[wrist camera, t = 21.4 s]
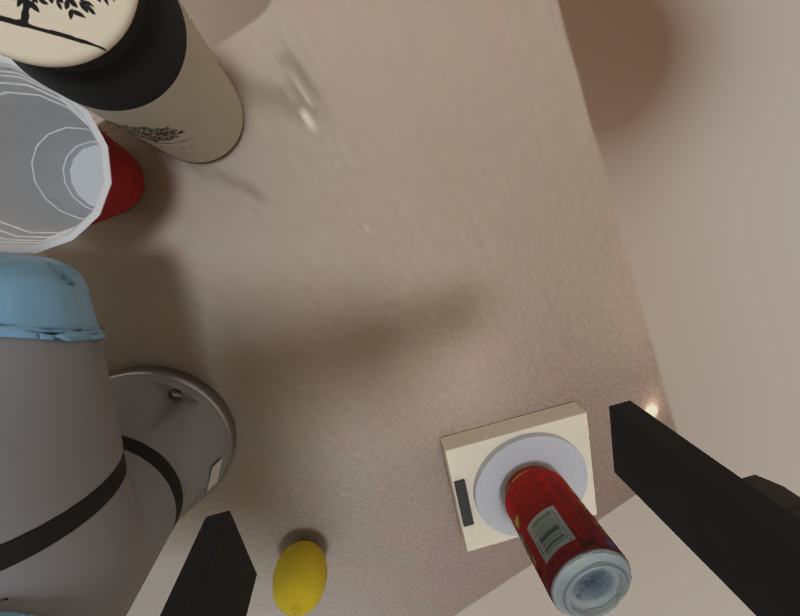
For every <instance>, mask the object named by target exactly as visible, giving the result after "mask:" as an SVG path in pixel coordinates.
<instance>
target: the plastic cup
mask: <svg viewBox="0 0 800 616" xmlns="http://www.w3.org/2000/svg"><path fill="white" fill-rule="evenodd" d="M143 190H144V179H143V173H142V171H141V169H140V167H139V165H138V164H137V162H136V160H135V159H134V158H133V157H132V156H131V155H130V154H129V153H128V152H127V151H126V150H125V149H124V148H122V147H121V146H120V145H118V144H117V143H115V142H114V141H113V140H112V139H111V138H110V137H109V136H108V135H106V134H105V133H104V132H103V131H101V130H100V129H99V128H98V127H97V125H96V123H95V121H94V120H93V118H92V116H91V114H90V112H89V110H87V109H86V108H84V107H82V106H80V105H78V104H77V103H75V102H73V101H71V100H69V99H68V98H66V97H64V96H62V95H60V94H59V93H57V92H55V91H53V90H51V89H49V88H48V87H46V86H44V85H42V84H41V83H39V82H37V81H36V80H34V79H33V78H32V77H30V76H29V75H28V74H26V73H25V72H24V71H23V70H22V69H21V68H20V67H19V66H17V65H16V63H15V62H14V61H13V60H12V59H10V58H8V57H6V56H2V55H0V253H38V252H41V251H44V250H47V249H50V248H52V247H55V246H58V245H61V244H64V243H67V242H69V241H72V240H74V239H76V238H77V237H78V236H79V235H80V234H81V233H82V232H83V231H84V230H85V229H86V228H87V227H88V226H89V225H92V224H95V223H98V222H101V221H103V220H106V219H109V218H112V217H114V216H117V215H118V214H121V213H123V212H126V211H129V210H130V209H131V208H132V207H133V206H134V205H135V204H136V203H137V202H138V201H139V200H140V199H141V196H142V193H143Z"/></svg>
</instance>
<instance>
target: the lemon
mask: <svg viewBox="0 0 800 616" xmlns="http://www.w3.org/2000/svg"><path fill="white" fill-rule="evenodd" d="M326 579H327V563H326V558H325V556H324V554H323V551H322V550H321V549H320V548H319V546H317V545H316V544H315V543H312V542H310V541H299V542H296V543H294V544H292V545H290V546H289V547H288V548H287V549H286V550H285V551H284V552H283V554H282V555H281V556H280V558H279V560H278V562H277V565H276V568H275V571H274V575H273V596H274V600H275V603H276V605H277V607H278V608H279V609H280V610H281V611H282V612H283V613H284V614H286V615H288V616H302V615H305V614H307V613H308V612H310V611H311V610H312V609H313V608H314V607H315V606H316V605H317V604H318V602H319V600H320V598H321V597H322V594H323V591H324V588H325V584H326Z"/></svg>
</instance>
